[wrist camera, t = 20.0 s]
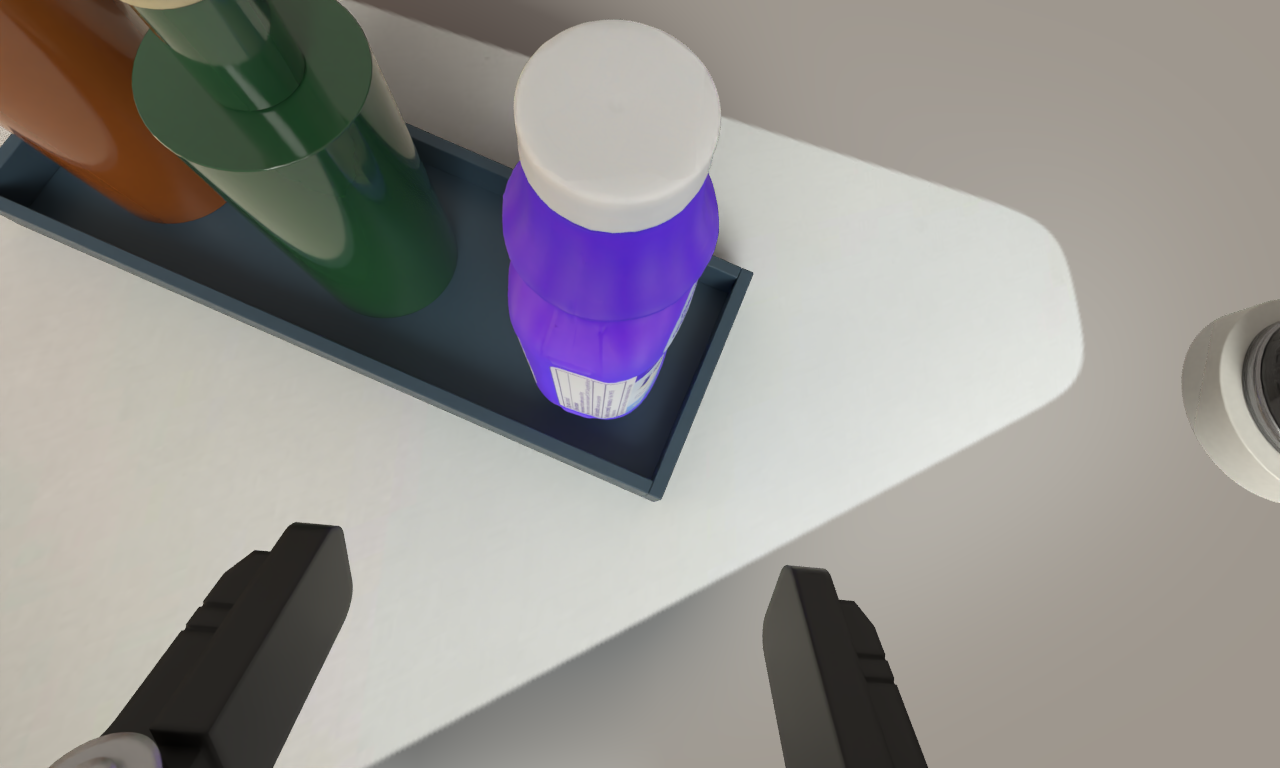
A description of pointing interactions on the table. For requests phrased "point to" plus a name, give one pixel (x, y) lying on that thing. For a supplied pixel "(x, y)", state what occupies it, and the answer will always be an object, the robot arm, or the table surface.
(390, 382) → the tray
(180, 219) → the amber bottle
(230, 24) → the green bottle
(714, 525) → the table surface
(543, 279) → the bottle
